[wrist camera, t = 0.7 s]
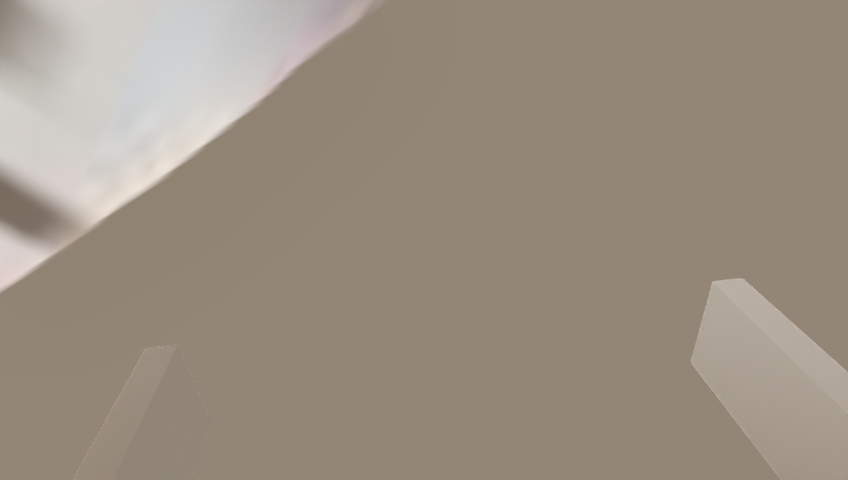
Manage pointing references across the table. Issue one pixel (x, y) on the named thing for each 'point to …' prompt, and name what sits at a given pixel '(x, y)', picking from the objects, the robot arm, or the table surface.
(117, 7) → the table surface
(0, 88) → the table surface
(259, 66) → the table surface
